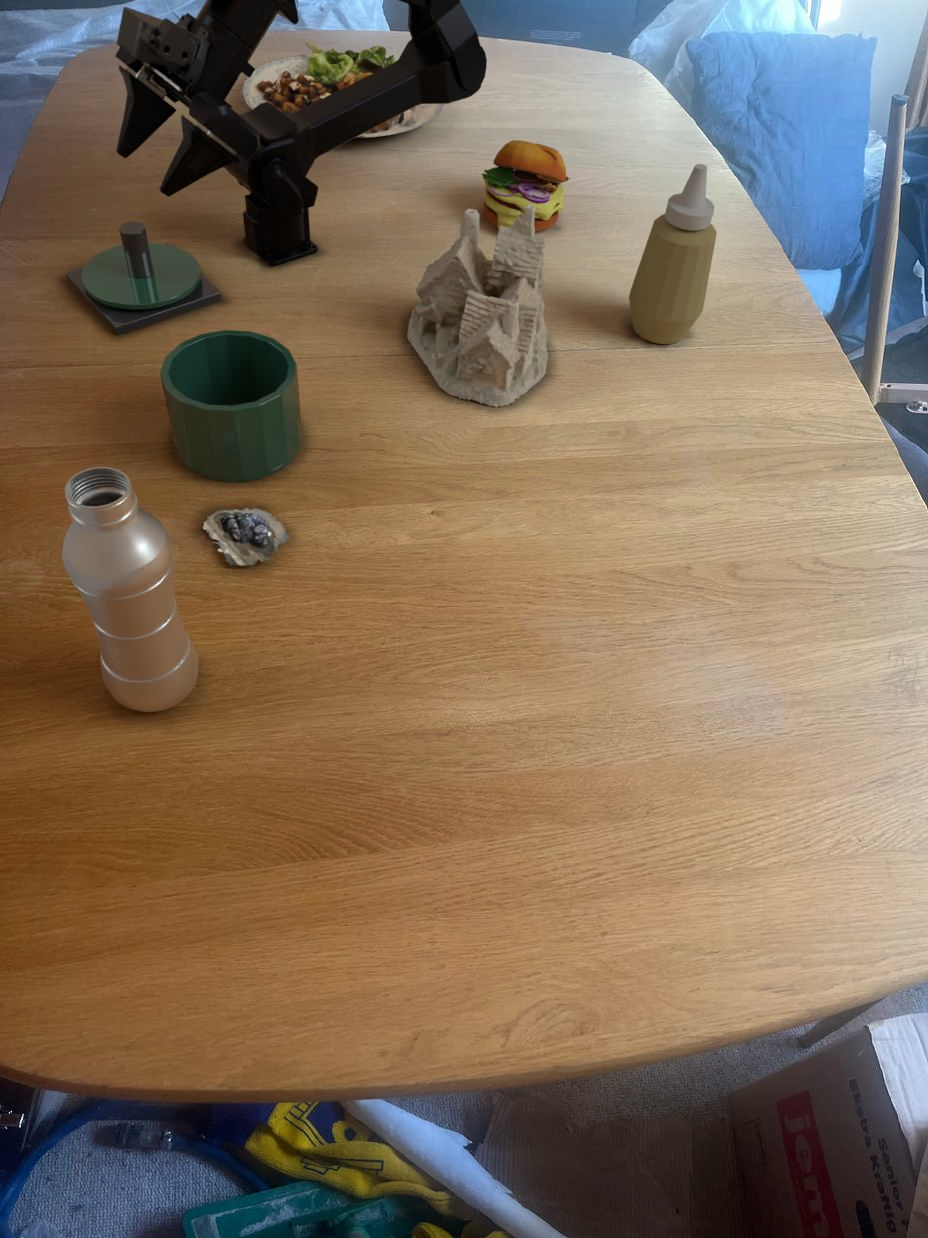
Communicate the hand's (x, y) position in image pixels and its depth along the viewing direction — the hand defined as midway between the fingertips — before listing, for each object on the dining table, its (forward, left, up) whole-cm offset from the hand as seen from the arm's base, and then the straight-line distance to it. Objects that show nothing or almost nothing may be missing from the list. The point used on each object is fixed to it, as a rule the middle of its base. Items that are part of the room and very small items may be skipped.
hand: (141, 173), depth 95 cm
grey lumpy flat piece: (+12, +38, -12) cm, 42 cm away
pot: (+6, +27, -12) cm, 30 cm away
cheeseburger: (-44, +9, -12) cm, 46 cm away
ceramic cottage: (-21, +28, -12) cm, 37 cm away
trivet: (+2, 0, -12) cm, 12 cm away
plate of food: (-42, -27, -12) cm, 51 cm away
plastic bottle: (+25, +48, -12) cm, 56 cm away
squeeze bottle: (-41, +36, -12) cm, 56 cm away
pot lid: (+2, 0, -11) cm, 11 cm away
